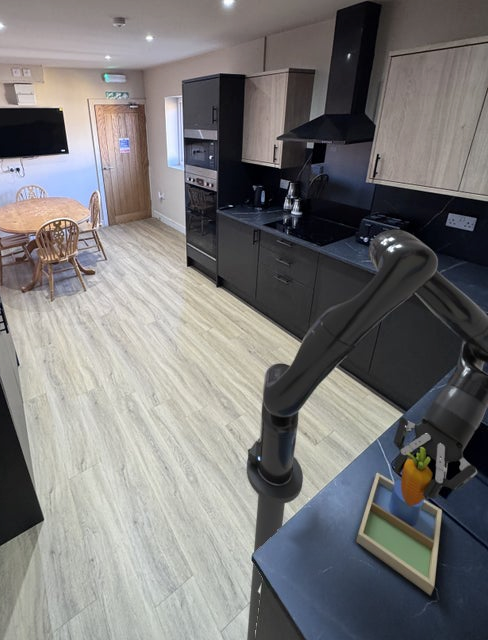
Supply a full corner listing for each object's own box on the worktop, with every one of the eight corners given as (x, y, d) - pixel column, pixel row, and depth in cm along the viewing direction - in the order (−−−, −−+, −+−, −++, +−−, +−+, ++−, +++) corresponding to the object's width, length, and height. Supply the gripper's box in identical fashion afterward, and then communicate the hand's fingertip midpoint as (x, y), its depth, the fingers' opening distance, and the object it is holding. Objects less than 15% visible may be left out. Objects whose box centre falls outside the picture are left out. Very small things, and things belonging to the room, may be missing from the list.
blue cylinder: (386, 513, 79) (391, 494, 76) (391, 493, 83) (396, 474, 81) (415, 532, 75) (422, 512, 73) (419, 510, 79) (425, 491, 77)
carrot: (412, 522, 65) (428, 470, 60) (389, 498, 70) (402, 447, 65) (427, 510, 67) (444, 459, 62) (404, 488, 72) (418, 438, 67)
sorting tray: (356, 542, 74) (358, 533, 73) (374, 480, 87) (376, 472, 86) (430, 596, 65) (434, 586, 64) (439, 518, 78) (442, 510, 77)
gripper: (413, 386, 71) (370, 452, 69) (497, 437, 59) (448, 518, 57) (421, 395, 75) (381, 458, 73) (500, 445, 63) (455, 520, 61)
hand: (410, 484), depth 65 cm, fingers closed on carrot, 5 cm apart
